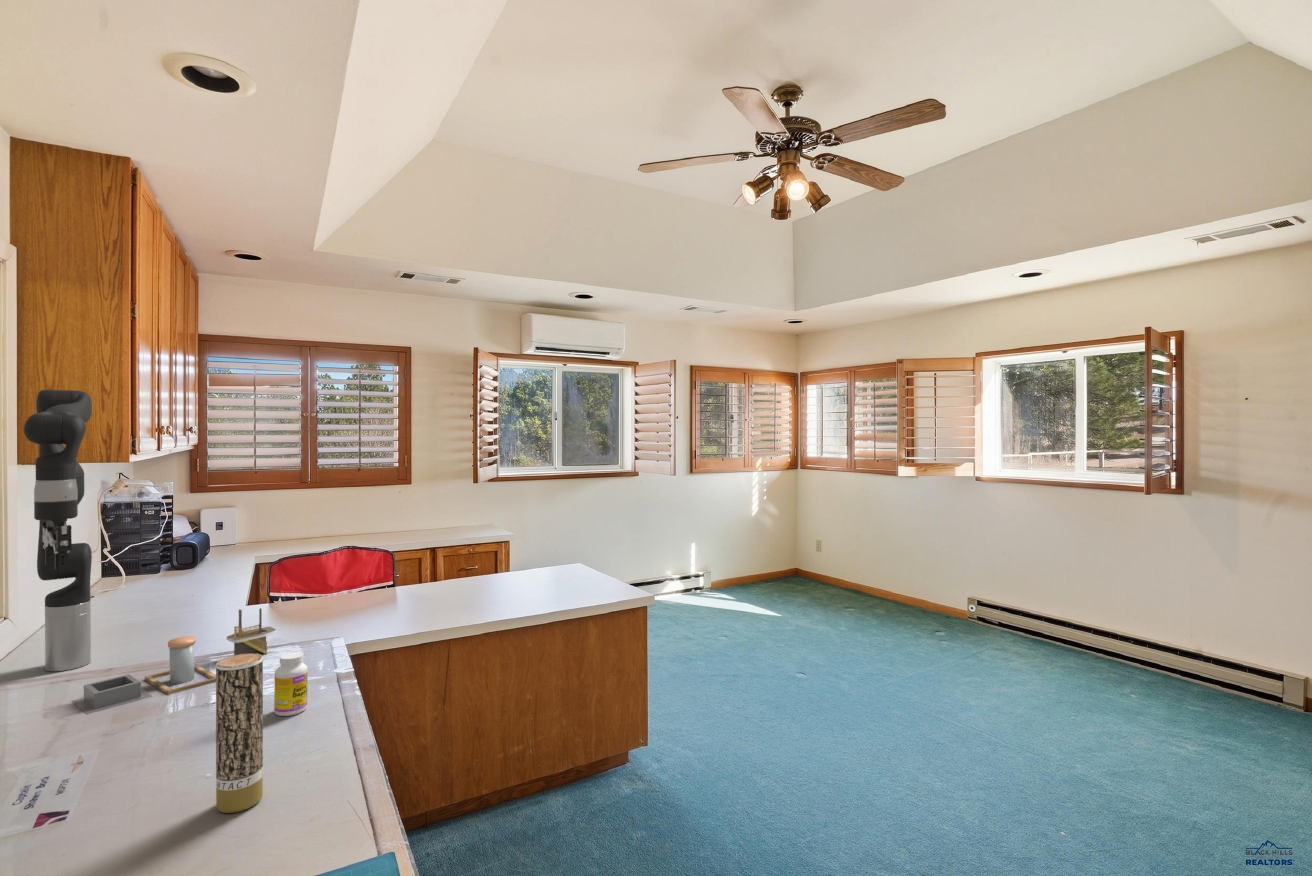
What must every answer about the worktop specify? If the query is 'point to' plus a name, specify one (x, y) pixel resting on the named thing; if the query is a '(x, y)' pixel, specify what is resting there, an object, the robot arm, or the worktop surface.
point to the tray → (169, 691)
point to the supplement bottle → (290, 685)
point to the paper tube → (239, 732)
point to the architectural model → (250, 637)
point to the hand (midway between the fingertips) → (56, 566)
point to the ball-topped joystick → (181, 659)
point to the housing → (110, 694)
